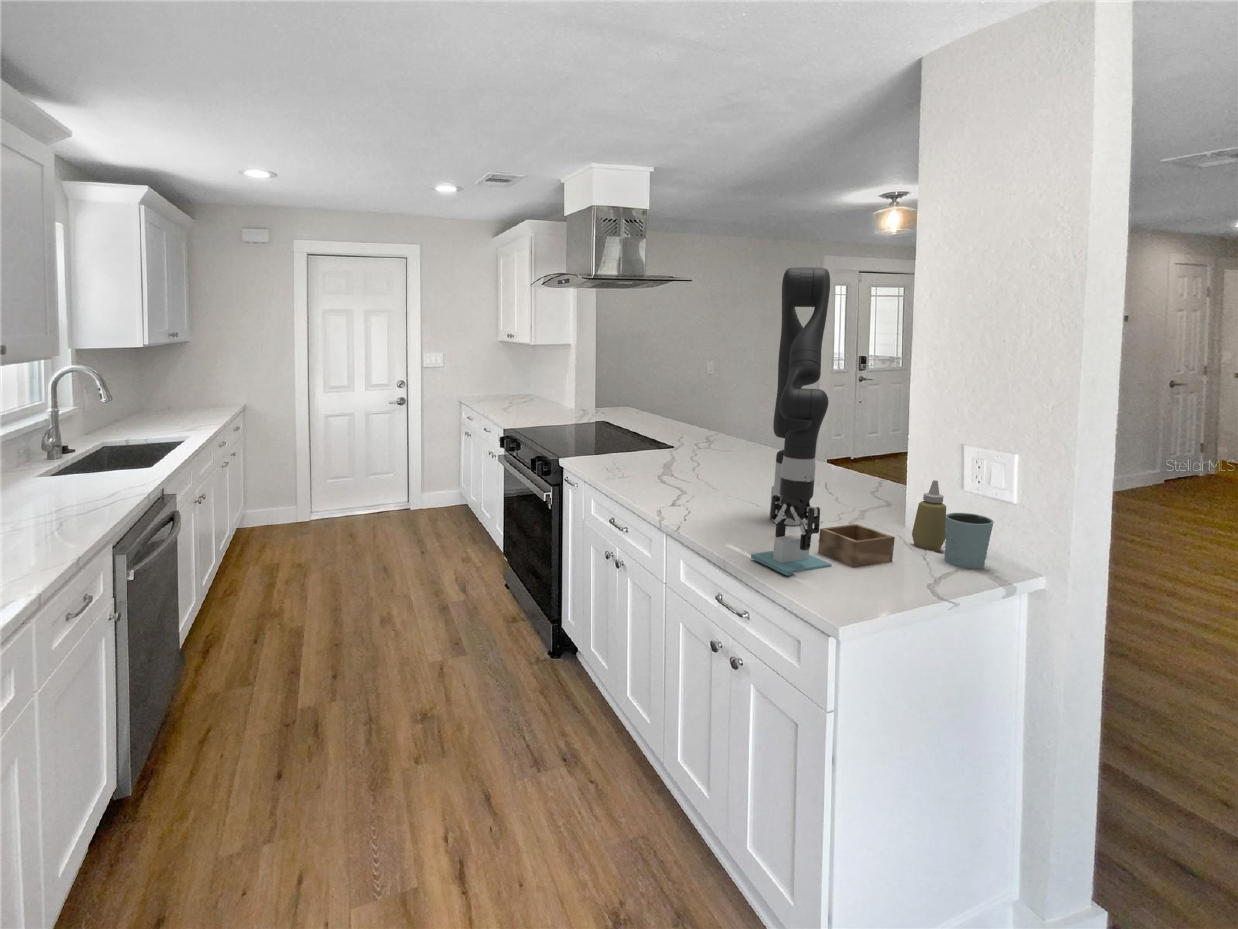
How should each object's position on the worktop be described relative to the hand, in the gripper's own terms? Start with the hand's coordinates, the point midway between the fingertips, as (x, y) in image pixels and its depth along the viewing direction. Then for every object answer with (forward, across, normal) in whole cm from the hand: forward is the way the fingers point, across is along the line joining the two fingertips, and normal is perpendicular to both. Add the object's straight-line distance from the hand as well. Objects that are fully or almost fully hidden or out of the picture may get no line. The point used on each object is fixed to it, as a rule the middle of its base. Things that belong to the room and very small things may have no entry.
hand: (792, 544), depth 166 cm
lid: (+5, 0, 0) cm, 5 cm away
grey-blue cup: (+5, +16, +39) cm, 42 cm away
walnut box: (+5, +3, +17) cm, 18 cm away
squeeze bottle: (+5, +3, +42) cm, 42 cm away
